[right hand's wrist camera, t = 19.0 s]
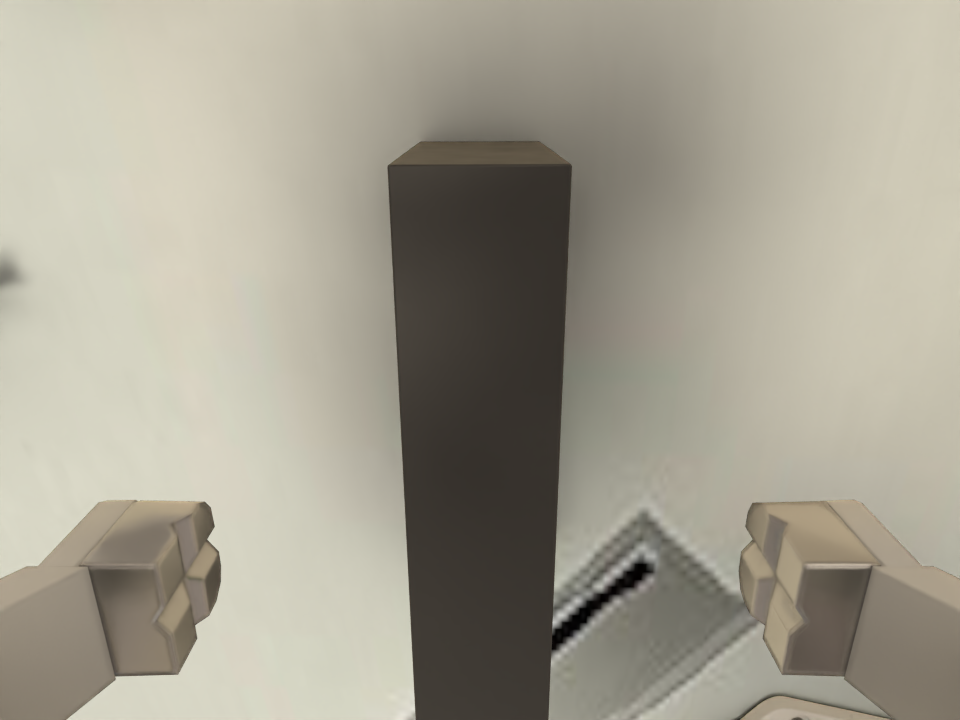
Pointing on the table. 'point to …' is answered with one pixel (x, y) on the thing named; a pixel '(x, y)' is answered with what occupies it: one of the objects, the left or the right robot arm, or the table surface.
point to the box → (480, 416)
